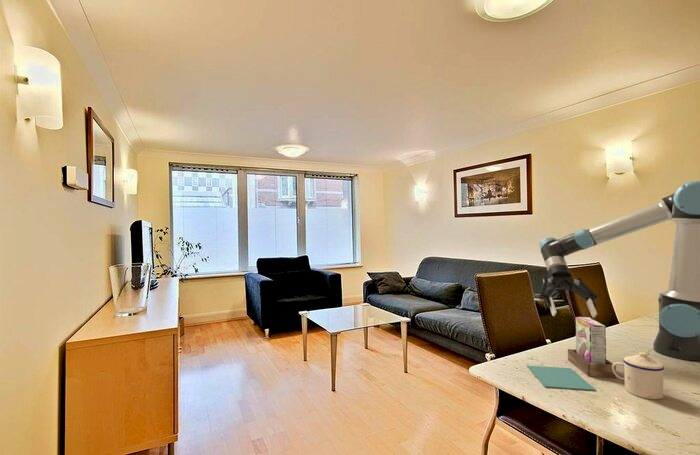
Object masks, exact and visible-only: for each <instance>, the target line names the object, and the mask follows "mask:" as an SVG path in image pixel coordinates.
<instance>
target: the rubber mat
mask: <svg viewBox="0 0 700 455" xmlns="http://www.w3.org/2000/svg"><path fill="white" fill-rule="evenodd" d="M526 368H527V369H528V370H529V371H530V372H531V373H532V374H533V375H534V377H535V378H536V379H537V380H538V381H539V382H540V384H541V385H542V386H543V387H544V388H550V389H561V390H562V389H563V390H574V391H575V390H578V391H580V390H581V391H592V392H596V391H597V389H596V388H595V387H593V386H592V385H591V384H590V383H589V382H588V381H587V380H585V379H584V378H583V377H582V376H581V375H580V374H578V373H577V372H576V371H575V370H574V369H572V368H571V367H559V366H558V367H557V366H544V365H543V366H540V365H527V366H526Z"/></svg>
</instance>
